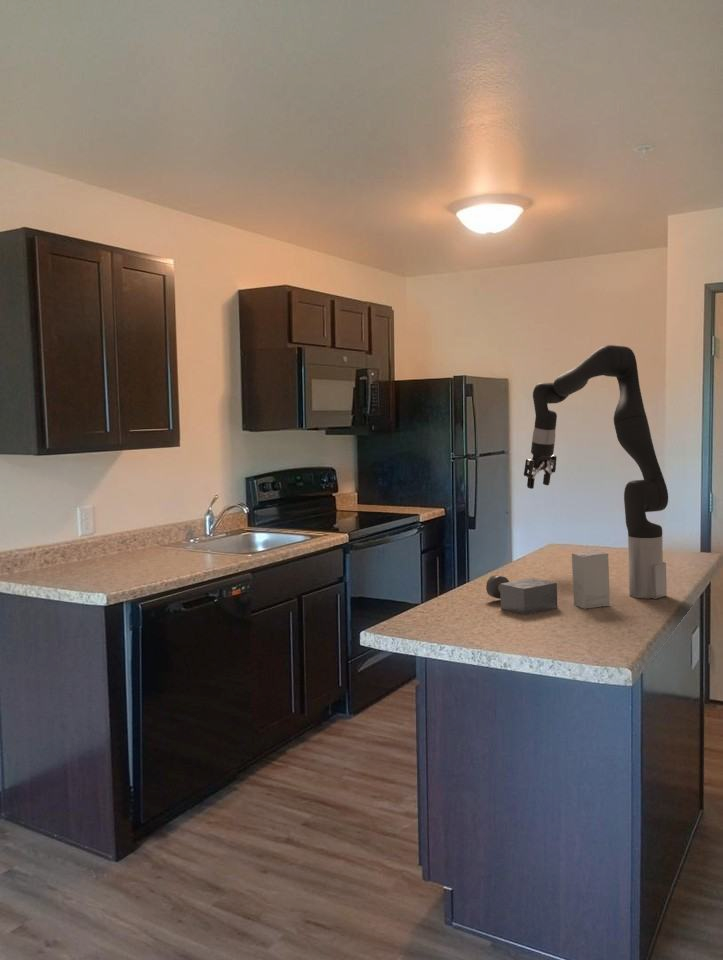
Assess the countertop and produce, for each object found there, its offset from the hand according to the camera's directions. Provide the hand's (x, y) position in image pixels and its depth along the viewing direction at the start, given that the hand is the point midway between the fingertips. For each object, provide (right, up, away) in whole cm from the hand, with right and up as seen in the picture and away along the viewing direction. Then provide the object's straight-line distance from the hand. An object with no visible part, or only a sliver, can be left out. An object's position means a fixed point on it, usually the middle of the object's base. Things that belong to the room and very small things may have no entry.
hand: (538, 486), depth 271 cm
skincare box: (+2, -33, -56) cm, 65 cm away
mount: (-15, -33, -56) cm, 67 cm away
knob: (-20, -32, -48) cm, 61 cm away
